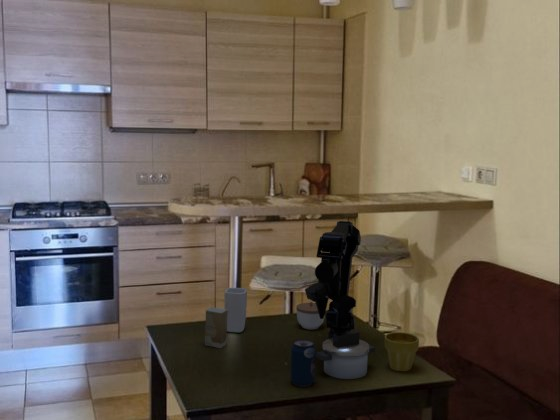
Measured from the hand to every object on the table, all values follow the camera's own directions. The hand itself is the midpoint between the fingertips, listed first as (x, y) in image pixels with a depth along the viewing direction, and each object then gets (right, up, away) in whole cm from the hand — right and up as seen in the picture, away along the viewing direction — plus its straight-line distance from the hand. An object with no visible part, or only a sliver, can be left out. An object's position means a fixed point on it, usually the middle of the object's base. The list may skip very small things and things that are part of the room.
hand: (330, 322), depth 202 cm
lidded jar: (-4, -8, +36) cm, 37 cm away
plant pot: (+22, -14, -2) cm, 26 cm away
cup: (-32, -8, +30) cm, 44 cm away
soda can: (-9, -15, -15) cm, 23 cm away
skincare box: (-37, -10, +15) cm, 41 cm away
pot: (+4, -14, -5) cm, 15 cm away
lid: (+4, -7, -6) cm, 10 cm away
